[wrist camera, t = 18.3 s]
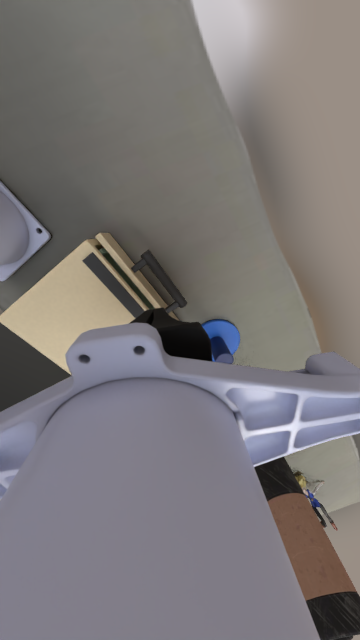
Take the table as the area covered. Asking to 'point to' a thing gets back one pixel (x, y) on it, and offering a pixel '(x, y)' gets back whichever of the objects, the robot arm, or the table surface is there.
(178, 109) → the table surface
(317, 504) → the spliced wire bundle
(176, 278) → the table surface
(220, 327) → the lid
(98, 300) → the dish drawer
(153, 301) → the wooden drawer
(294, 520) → the travel mug
